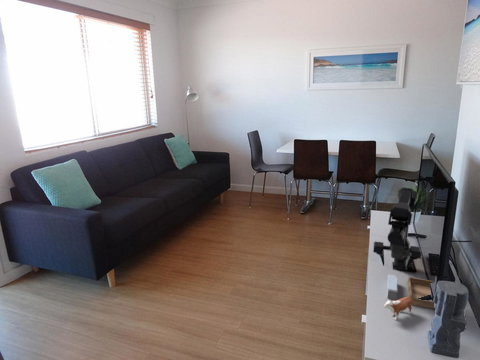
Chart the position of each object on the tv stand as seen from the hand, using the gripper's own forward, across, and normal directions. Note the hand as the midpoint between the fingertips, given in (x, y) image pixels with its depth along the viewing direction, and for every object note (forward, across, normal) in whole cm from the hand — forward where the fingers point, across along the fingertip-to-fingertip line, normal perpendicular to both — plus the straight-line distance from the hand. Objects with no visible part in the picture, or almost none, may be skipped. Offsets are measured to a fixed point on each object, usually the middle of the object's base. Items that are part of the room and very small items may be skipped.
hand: (394, 267), depth 155 cm
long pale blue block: (+12, 0, 0) cm, 12 cm away
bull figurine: (+12, +2, -18) cm, 22 cm away
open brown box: (+12, +12, 0) cm, 17 cm away
